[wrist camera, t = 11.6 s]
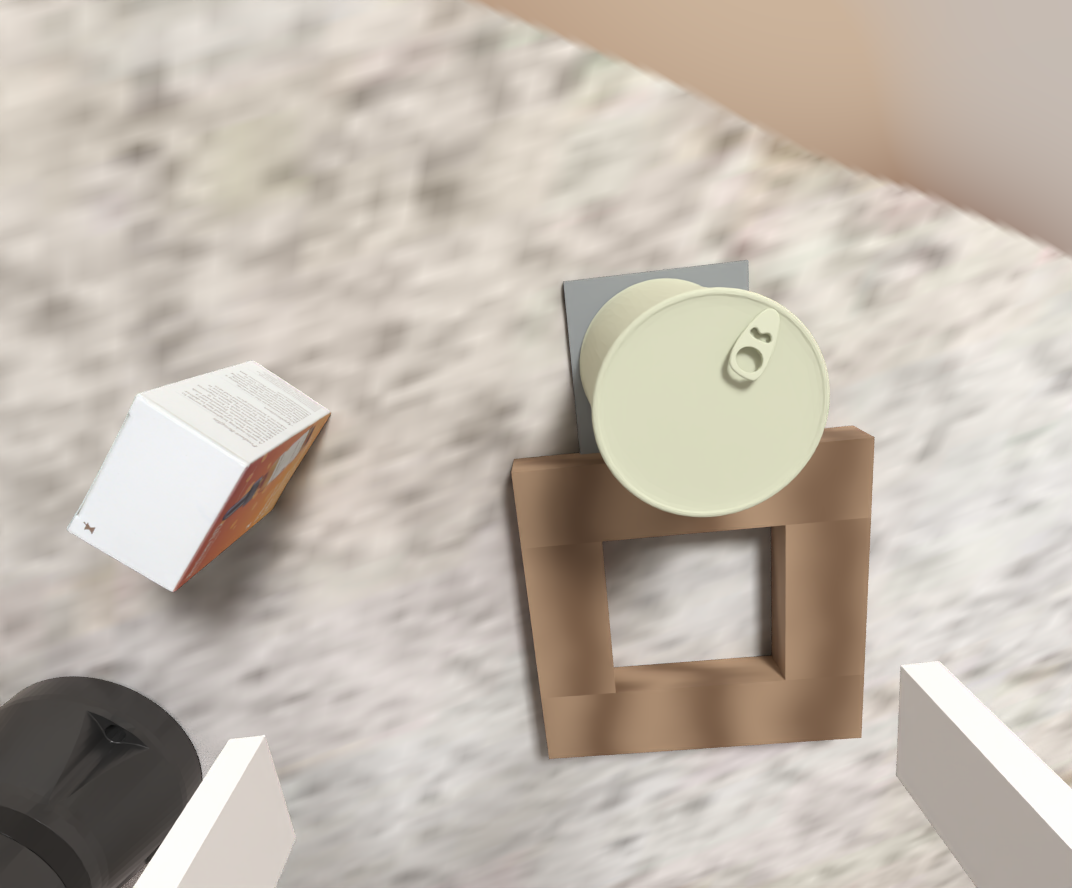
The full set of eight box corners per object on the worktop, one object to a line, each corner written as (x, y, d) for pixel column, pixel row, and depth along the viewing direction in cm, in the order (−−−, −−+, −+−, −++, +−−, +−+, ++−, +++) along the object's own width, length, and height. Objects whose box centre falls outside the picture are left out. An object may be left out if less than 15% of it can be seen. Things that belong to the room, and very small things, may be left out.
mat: (580, 452, 37) (580, 454, 36) (563, 281, 34) (563, 281, 33) (748, 435, 36) (751, 437, 36) (746, 260, 33) (748, 260, 33)
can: (776, 328, 34) (889, 362, 22) (687, 467, 36) (747, 562, 25) (632, 246, 33) (673, 238, 21) (550, 394, 35) (548, 458, 24)
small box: (272, 510, 38) (171, 599, 28) (193, 461, 38) (60, 534, 27) (335, 410, 36) (251, 466, 26) (253, 355, 36) (133, 392, 25)
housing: (549, 730, 42) (549, 758, 40) (514, 459, 37) (511, 472, 34) (843, 710, 41) (861, 737, 39) (852, 425, 36) (874, 437, 33)
